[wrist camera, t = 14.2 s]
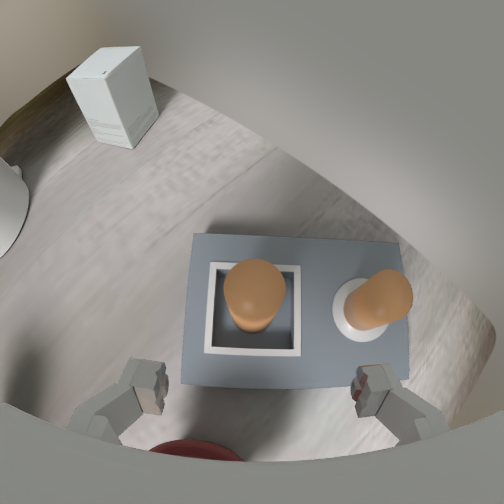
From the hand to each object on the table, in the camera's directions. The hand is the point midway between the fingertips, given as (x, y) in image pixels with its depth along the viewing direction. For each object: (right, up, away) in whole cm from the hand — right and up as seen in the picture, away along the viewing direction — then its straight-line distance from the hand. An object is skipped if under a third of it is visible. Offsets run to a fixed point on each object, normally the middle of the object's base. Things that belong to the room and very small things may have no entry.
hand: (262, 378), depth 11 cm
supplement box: (-19, +23, +26) cm, 39 cm away
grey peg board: (+5, -1, +17) cm, 18 cm away
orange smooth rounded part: (0, 0, +16) cm, 16 cm away
